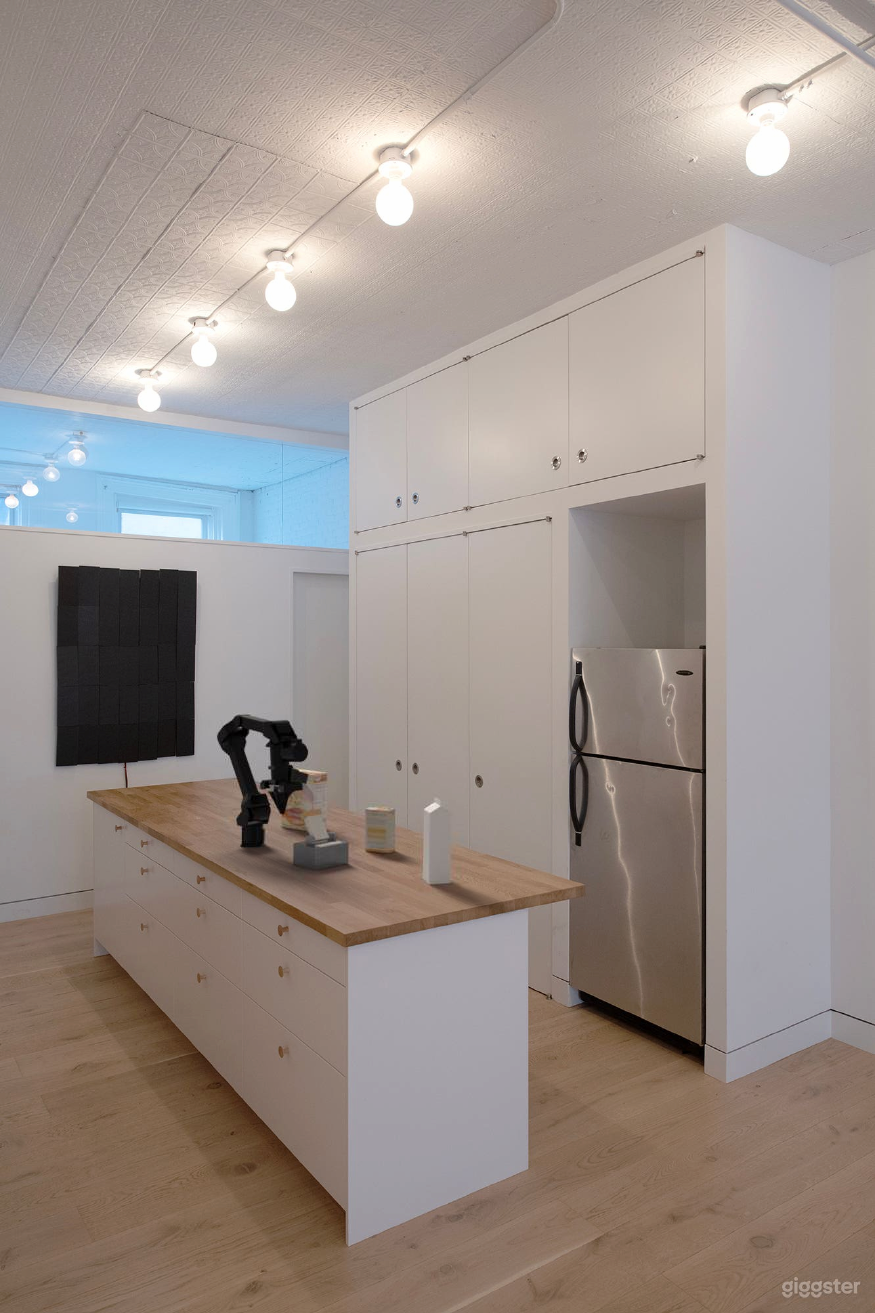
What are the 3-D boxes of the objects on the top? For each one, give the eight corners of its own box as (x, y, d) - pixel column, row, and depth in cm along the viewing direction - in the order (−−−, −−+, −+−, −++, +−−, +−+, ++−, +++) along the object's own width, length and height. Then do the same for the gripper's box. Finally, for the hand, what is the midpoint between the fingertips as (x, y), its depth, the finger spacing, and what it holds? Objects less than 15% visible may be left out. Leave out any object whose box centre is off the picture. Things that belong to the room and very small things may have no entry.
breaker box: (293, 864, 251) (293, 834, 251) (326, 857, 260) (326, 829, 260) (315, 870, 245) (315, 840, 244) (348, 863, 253) (348, 834, 253)
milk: (429, 885, 231) (429, 801, 231) (422, 879, 237) (423, 797, 237) (451, 883, 233) (451, 800, 233) (444, 877, 239) (445, 796, 239)
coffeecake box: (280, 827, 304) (281, 770, 304) (295, 823, 310) (295, 768, 309) (312, 832, 295) (313, 774, 295) (327, 829, 301) (327, 771, 301)
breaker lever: (310, 843, 251) (299, 815, 254) (327, 840, 255) (316, 812, 259) (315, 839, 249) (304, 811, 253) (331, 836, 254) (320, 808, 257)
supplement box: (395, 851, 270) (396, 808, 270) (388, 854, 265) (388, 810, 265) (372, 848, 273) (372, 805, 273) (364, 851, 269) (364, 808, 269)
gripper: (317, 760, 263) (320, 813, 262) (291, 759, 279) (294, 809, 278) (283, 763, 257) (285, 817, 256) (258, 762, 272) (260, 813, 272)
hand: (282, 814), depth 266 cm, fingers closed
